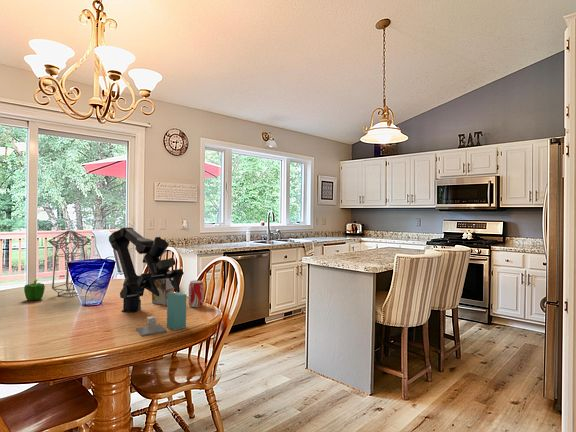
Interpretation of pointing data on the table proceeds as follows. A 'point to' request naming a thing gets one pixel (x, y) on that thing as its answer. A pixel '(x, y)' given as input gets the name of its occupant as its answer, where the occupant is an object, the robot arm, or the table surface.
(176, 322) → the teal rectangular block
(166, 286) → the coffee box
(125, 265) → the robot arm
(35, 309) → the table surface
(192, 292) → the soda can
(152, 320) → the post
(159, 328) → the plate
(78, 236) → the geometric lantern
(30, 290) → the bell pepper
